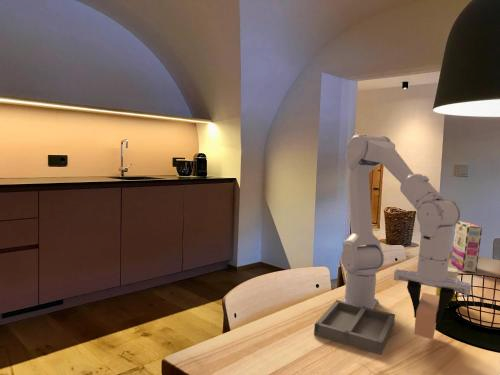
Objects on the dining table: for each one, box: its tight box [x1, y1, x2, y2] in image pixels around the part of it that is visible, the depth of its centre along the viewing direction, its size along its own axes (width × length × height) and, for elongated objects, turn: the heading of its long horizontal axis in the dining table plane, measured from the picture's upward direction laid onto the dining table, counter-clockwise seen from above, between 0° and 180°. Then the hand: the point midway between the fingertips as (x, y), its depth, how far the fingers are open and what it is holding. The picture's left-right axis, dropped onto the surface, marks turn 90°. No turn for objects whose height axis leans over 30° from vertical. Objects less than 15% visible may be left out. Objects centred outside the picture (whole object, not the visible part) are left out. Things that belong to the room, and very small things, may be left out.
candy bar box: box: [450, 220, 483, 273], centre depth 139 cm, size 11×5×16 cm, turn 172°
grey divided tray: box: [313, 299, 396, 356], centre depth 86 cm, size 16×14×2 cm
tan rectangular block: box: [413, 292, 439, 340], centre depth 81 cm, size 12×4×5 cm, turn 150°
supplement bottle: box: [435, 266, 461, 301], centre depth 104 cm, size 5×5×10 cm
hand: (427, 318), depth 82 cm, fingers closed on tan rectangular block, 3 cm apart
